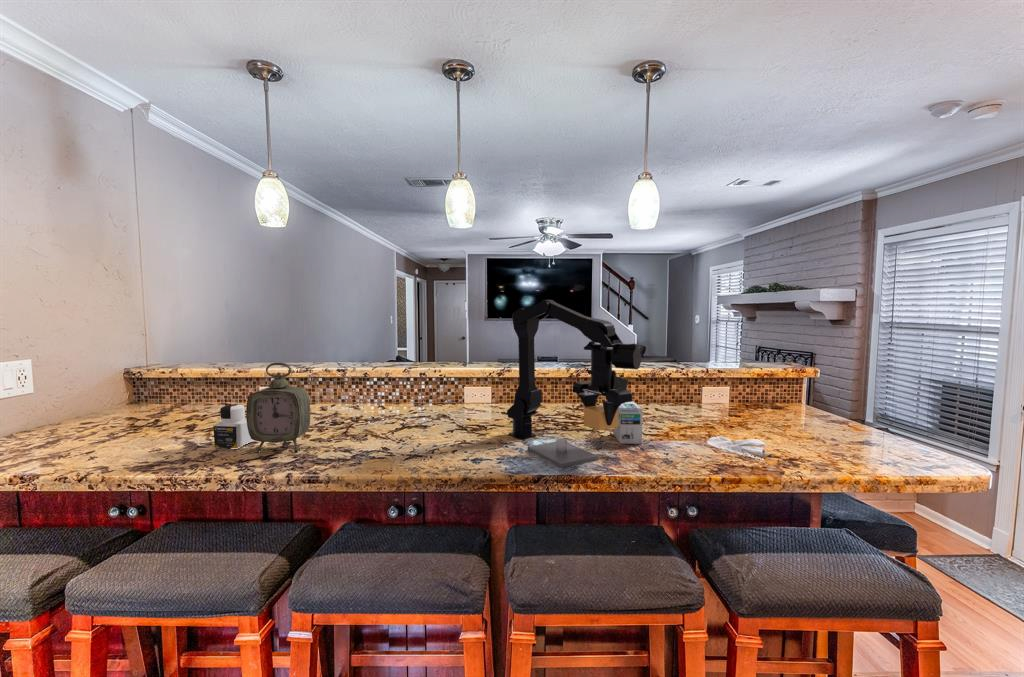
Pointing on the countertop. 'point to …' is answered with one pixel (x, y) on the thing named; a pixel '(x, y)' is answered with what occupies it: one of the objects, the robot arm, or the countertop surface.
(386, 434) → the countertop surface
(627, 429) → the light bulb box
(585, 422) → the tan wooden cube
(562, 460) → the post board
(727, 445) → the cloth
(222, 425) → the medicine bottle
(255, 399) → the tabletop clock
